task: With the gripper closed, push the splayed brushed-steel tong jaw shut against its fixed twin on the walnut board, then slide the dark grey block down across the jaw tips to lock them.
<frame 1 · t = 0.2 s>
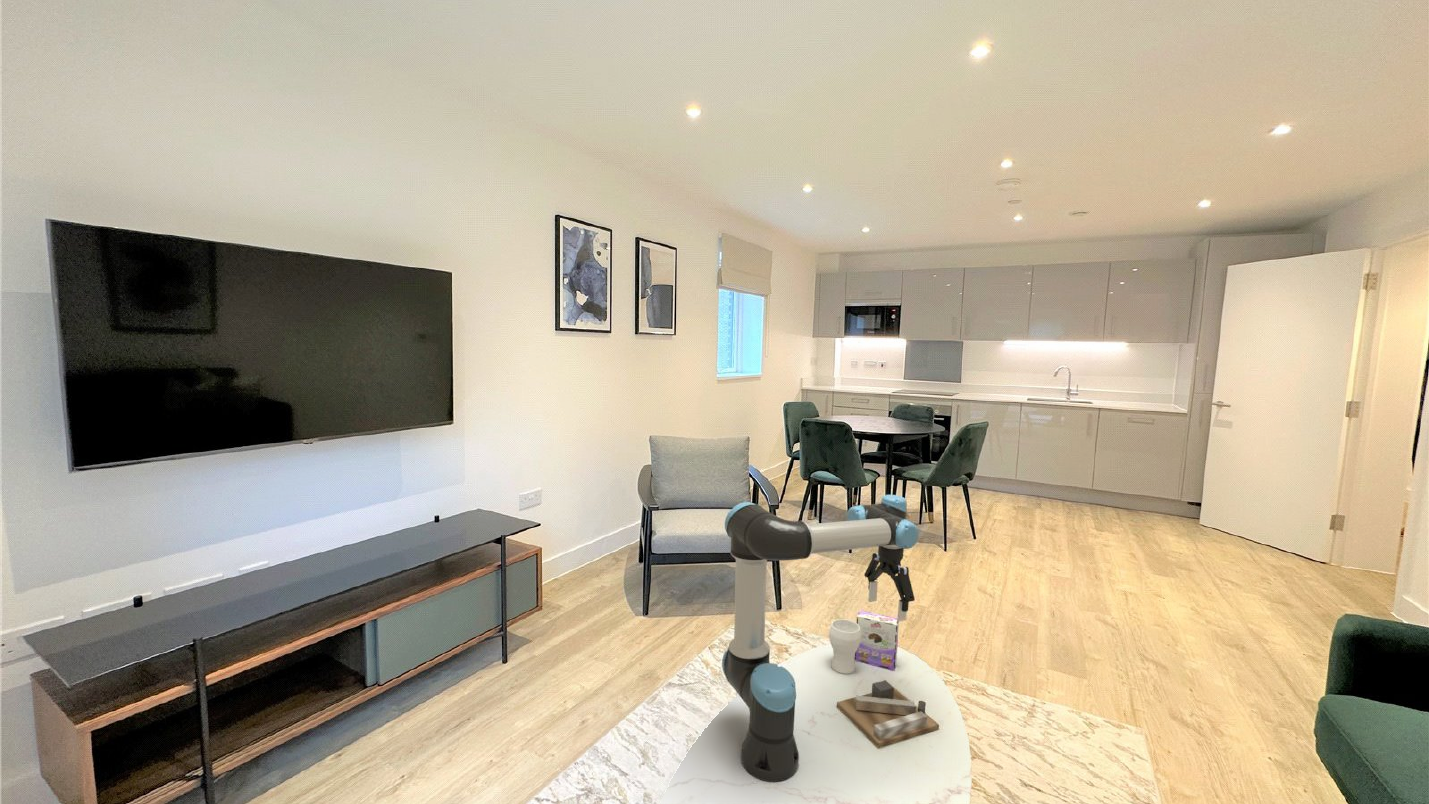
hand: (886, 610, 174), 27 cm above the table, fingers open, 13 cm apart
candy box: (875, 662, 194), on the table
cup: (842, 667, 190), on the table
dark grey block: (882, 692, 170), point 4 cm above the table, slide at 0.0 cm
board: (886, 717, 164), on the table
tong jaw: (885, 705, 165), point 3 cm above the table, hinge at 30.0°
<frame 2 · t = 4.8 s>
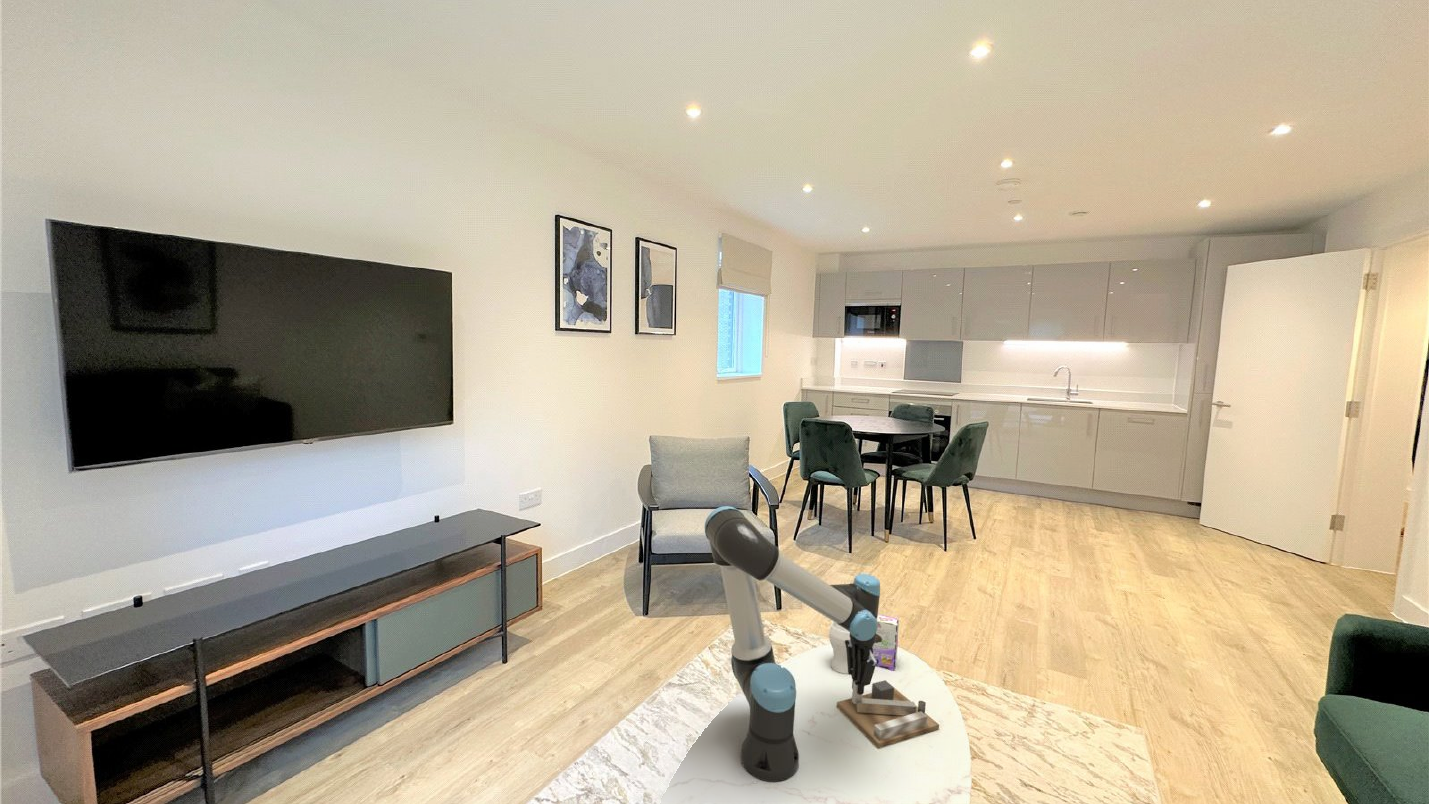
hand: (856, 701, 167), 3 cm above the table, fingers closed
tong jaw: (885, 707, 164), point 3 cm above the table, hinge at 26.6°, touching gripper
everything else where it was.
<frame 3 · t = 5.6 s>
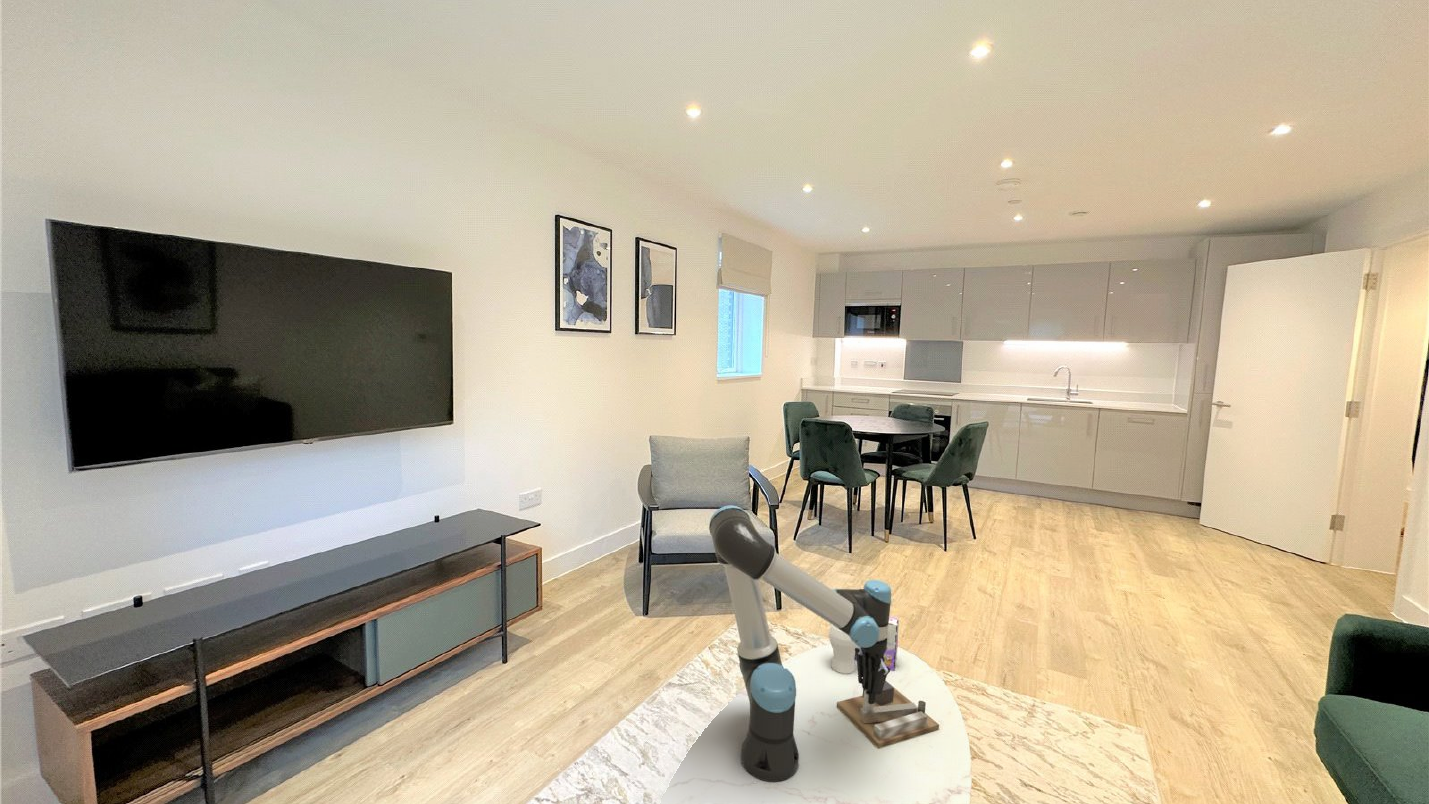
hand: (867, 711, 162), 3 cm above the table, fingers closed
tong jaw: (889, 713, 161), point 3 cm above the table, hinge at 11.7°, touching gripper
everything else where it was.
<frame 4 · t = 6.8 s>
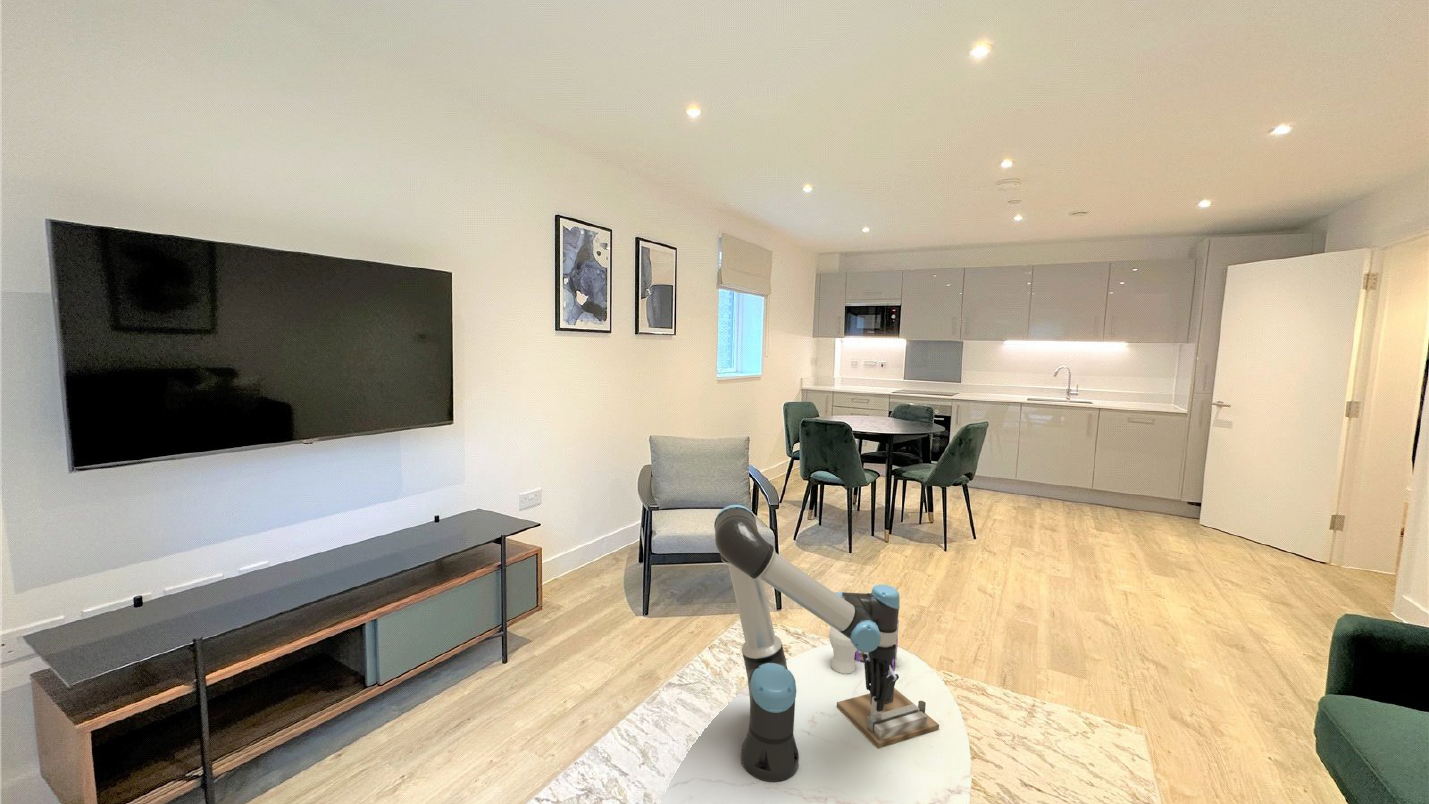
hand: (875, 718, 159), 3 cm above the table, fingers closed
tong jaw: (893, 717, 159), point 3 cm above the table, hinge at 0.1°, touching gripper
everything else where it was.
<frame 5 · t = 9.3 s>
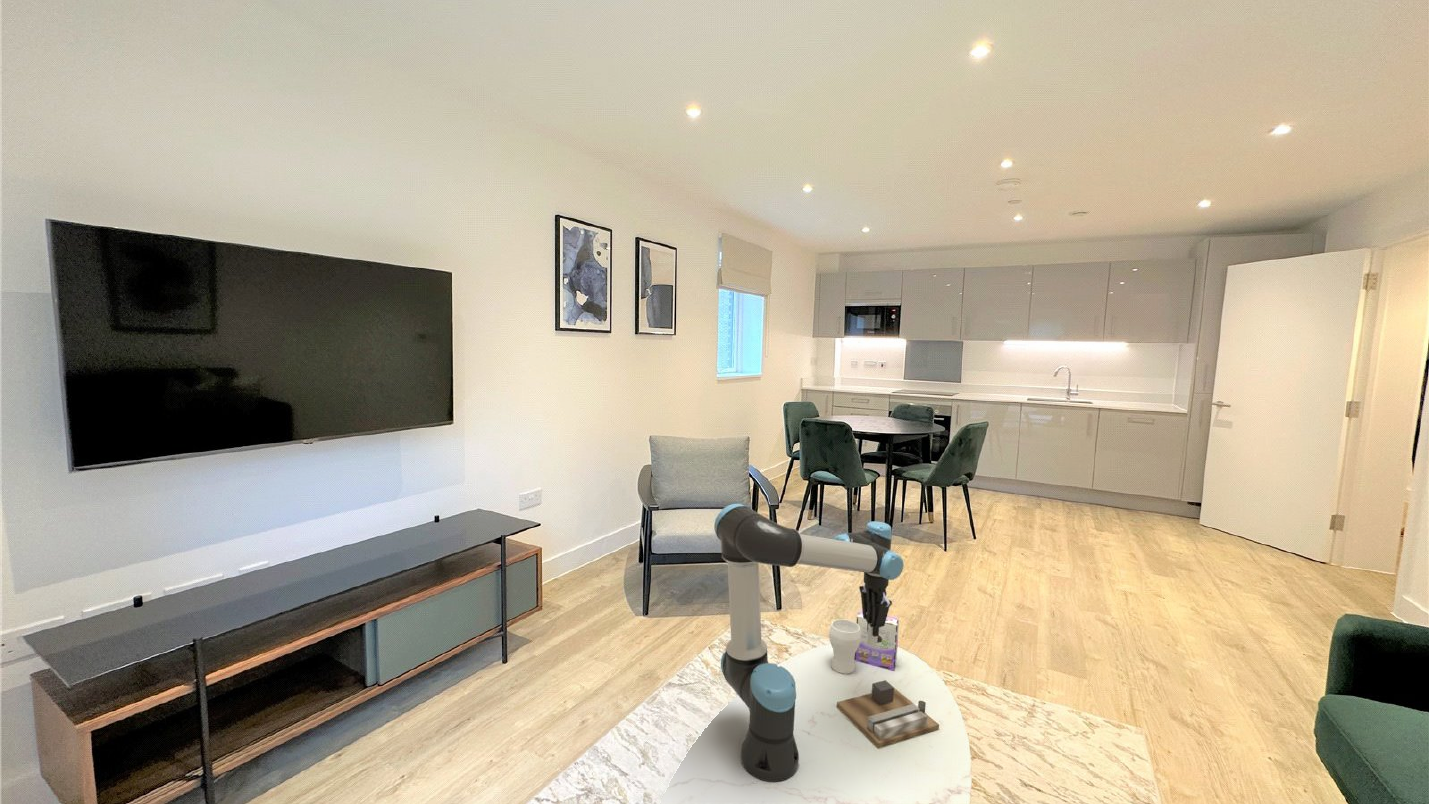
hand: (872, 643, 175), 16 cm above the table, fingers closed
tong jaw: (893, 717, 159), point 3 cm above the table, hinge at 0.1°
everything else where it was.
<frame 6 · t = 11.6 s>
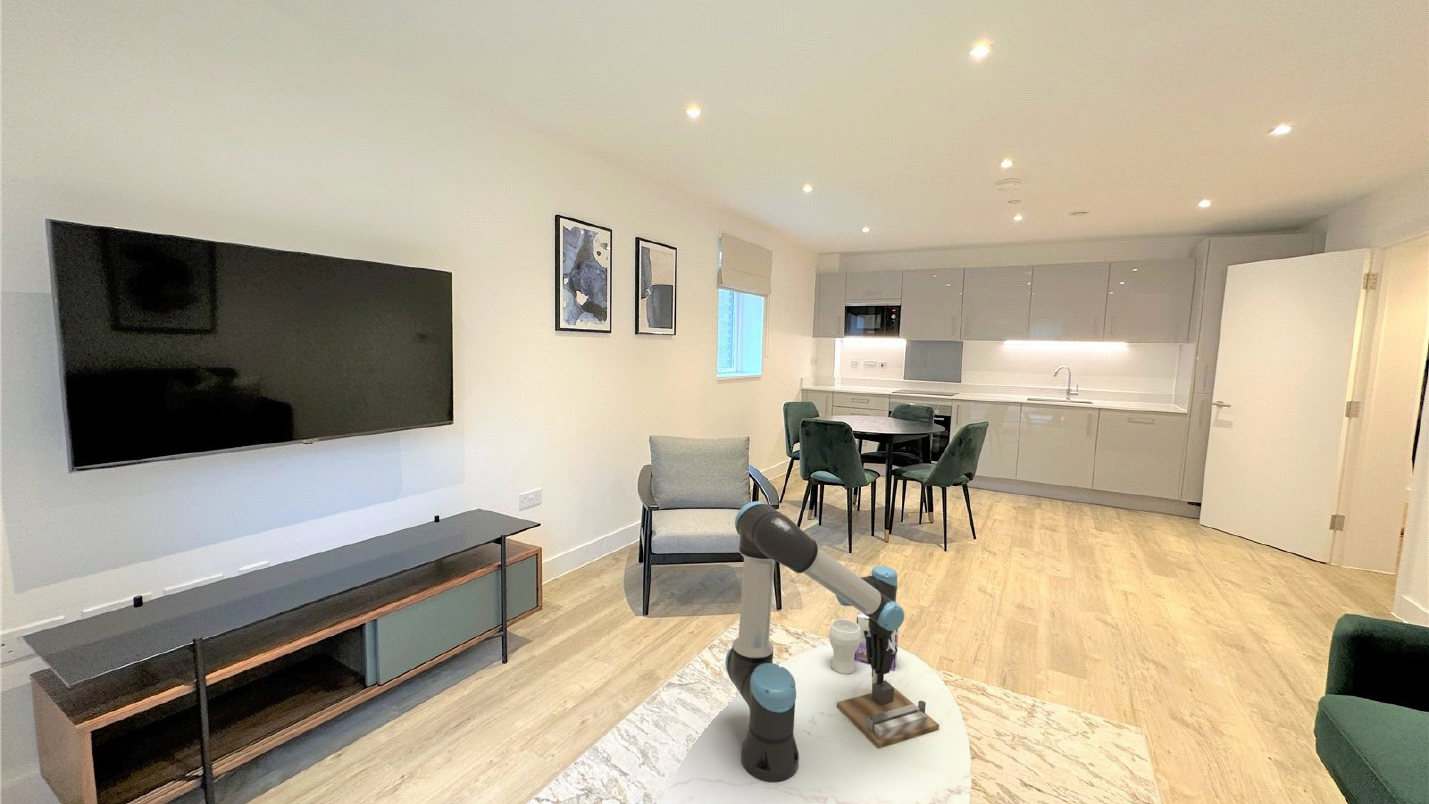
hand: (876, 690, 173), 3 cm above the table, fingers closed
dark grey block: (882, 692, 170), point 4 cm above the table, slide at 0.1 cm, touching gripper
everything else where it was.
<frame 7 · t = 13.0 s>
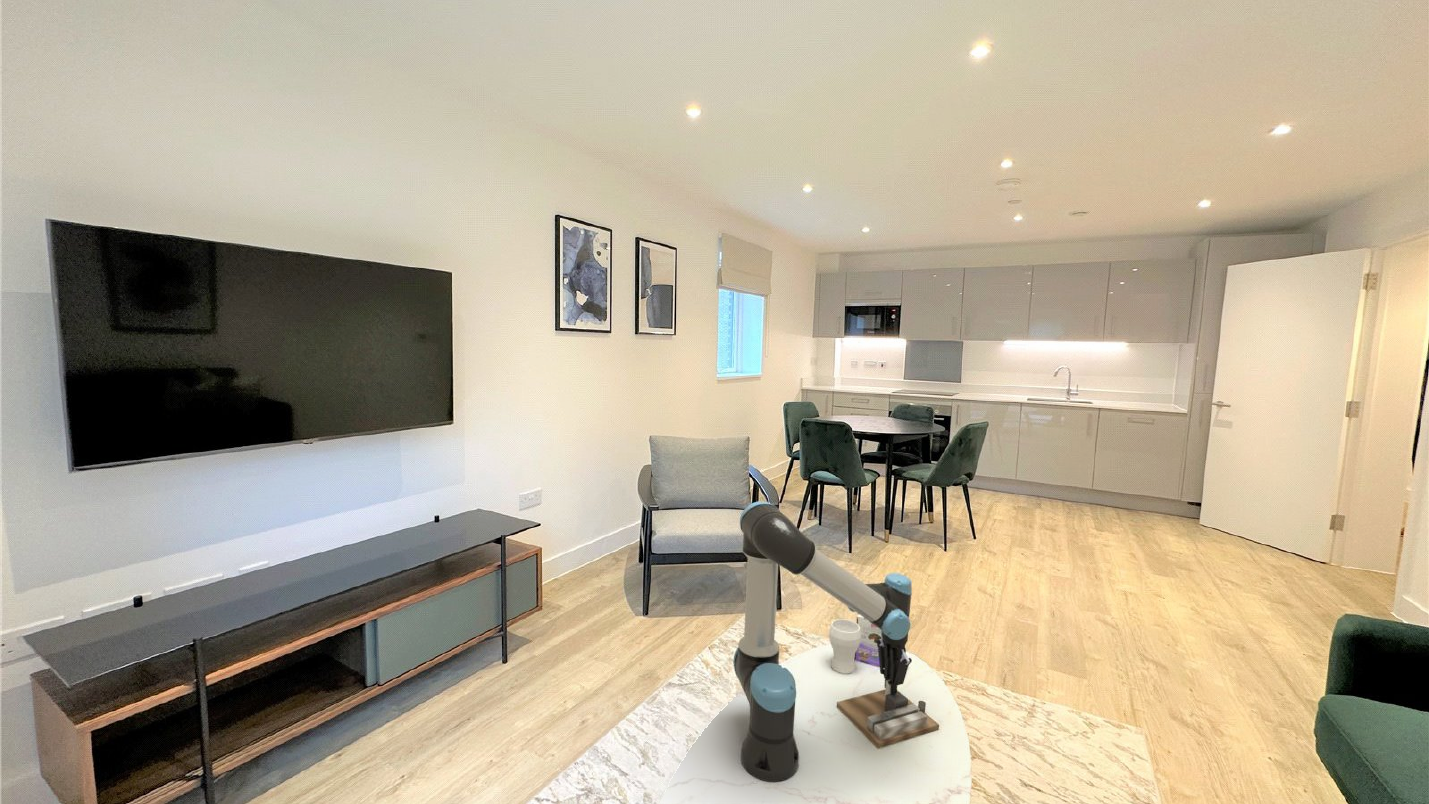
hand: (889, 701, 167), 3 cm above the table, fingers closed
dark grey block: (896, 704, 165), point 4 cm above the table, slide at 6.0 cm, touching gripper
everything else where it was.
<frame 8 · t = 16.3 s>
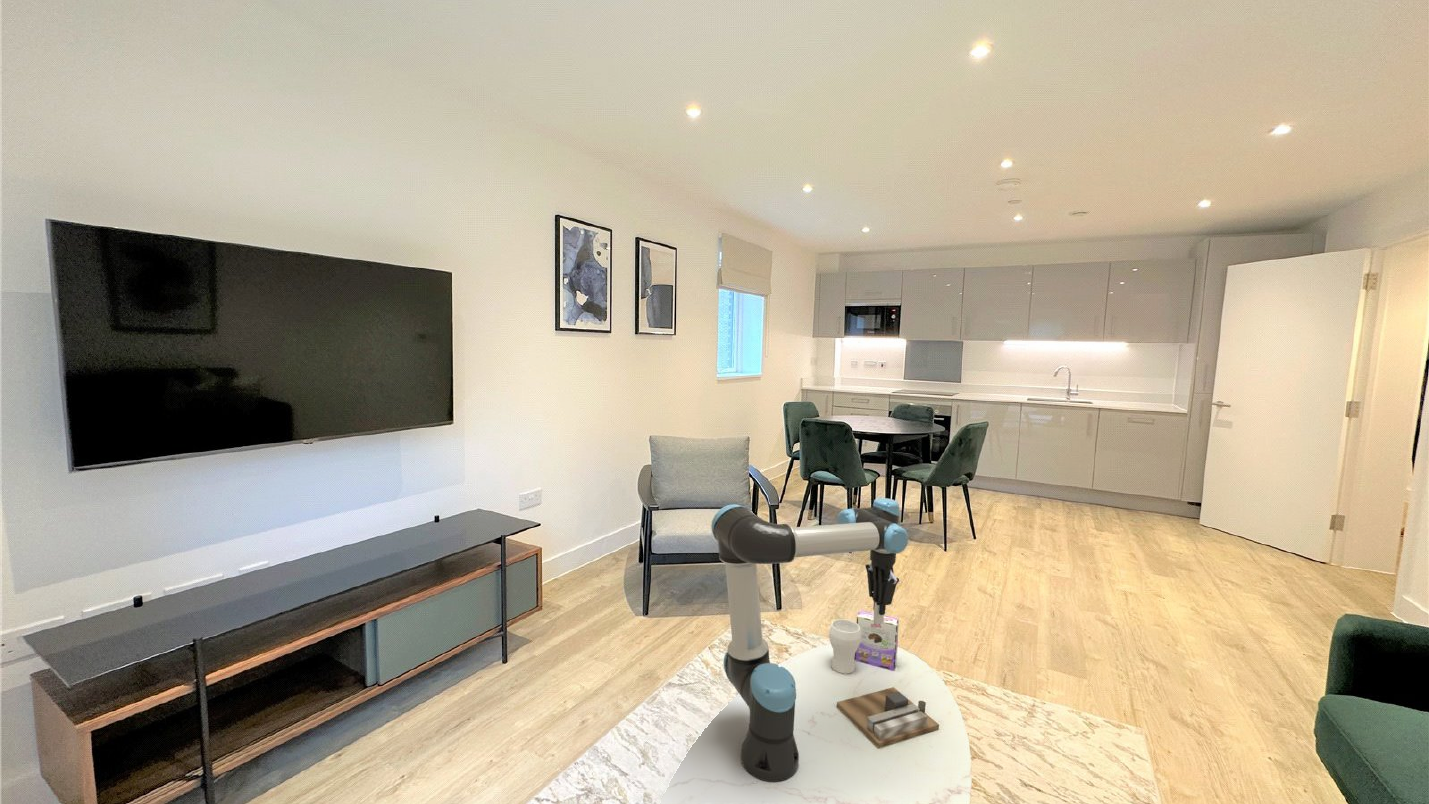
hand: (878, 622, 172), 24 cm above the table, fingers closed
dark grey block: (896, 704, 165), point 4 cm above the table, slide at 6.1 cm
everything else where it was.
at the end: tong jaw at +0° (first picture: +30°); dark grey block slide at 6.1 cm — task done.
